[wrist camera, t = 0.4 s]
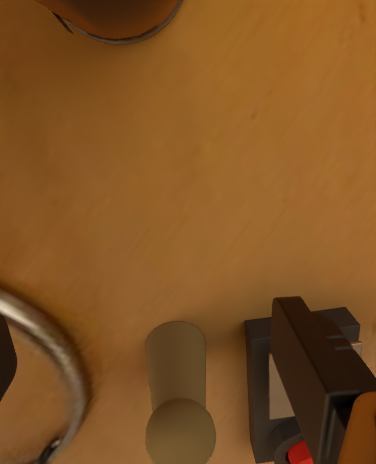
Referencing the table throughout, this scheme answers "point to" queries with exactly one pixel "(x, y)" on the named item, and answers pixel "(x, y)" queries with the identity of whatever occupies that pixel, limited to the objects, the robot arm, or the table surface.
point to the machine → (257, 352)
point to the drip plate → (277, 394)
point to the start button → (299, 454)
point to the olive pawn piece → (178, 396)
